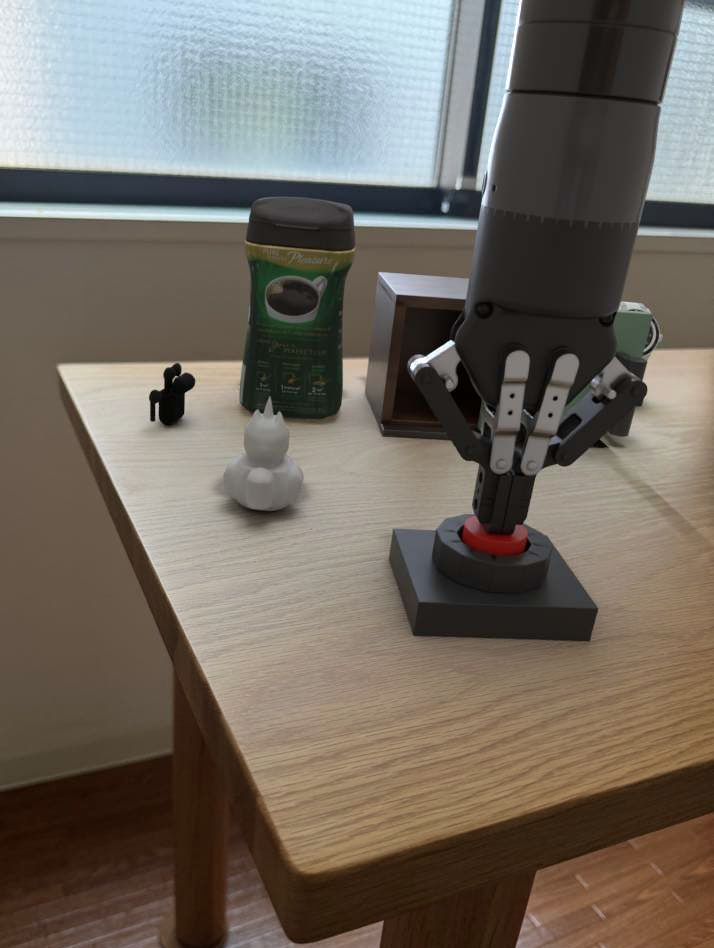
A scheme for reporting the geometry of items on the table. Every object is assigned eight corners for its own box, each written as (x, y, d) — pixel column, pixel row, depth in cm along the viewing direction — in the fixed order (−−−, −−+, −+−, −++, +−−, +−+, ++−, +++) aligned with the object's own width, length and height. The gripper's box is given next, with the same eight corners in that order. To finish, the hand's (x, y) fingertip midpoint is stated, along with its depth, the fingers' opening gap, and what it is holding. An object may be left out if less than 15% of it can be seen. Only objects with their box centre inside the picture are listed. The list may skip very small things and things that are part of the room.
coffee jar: (343, 402, 83) (363, 199, 75) (337, 428, 76) (359, 207, 68) (245, 391, 84) (255, 189, 76) (230, 416, 77) (240, 196, 69)
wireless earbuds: (181, 409, 77) (181, 354, 75) (206, 414, 77) (207, 359, 75) (144, 431, 71) (144, 373, 69) (171, 437, 71) (172, 378, 69)
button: (512, 541, 51) (517, 515, 50) (530, 570, 48) (536, 543, 47) (453, 539, 51) (458, 513, 50) (467, 568, 48) (473, 540, 47)
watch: (587, 421, 84) (614, 309, 79) (570, 397, 91) (593, 293, 86) (644, 427, 84) (674, 314, 79) (622, 402, 91) (649, 298, 86)
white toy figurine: (304, 495, 62) (313, 389, 59) (296, 535, 56) (305, 419, 53) (230, 487, 62) (235, 381, 59) (214, 526, 56) (218, 411, 53)
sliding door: (617, 434, 78) (648, 311, 73) (640, 455, 73) (676, 325, 68) (477, 426, 77) (499, 301, 72) (492, 447, 72) (517, 314, 67)
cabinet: (572, 405, 89) (599, 288, 83) (620, 449, 77) (655, 316, 72) (364, 393, 87) (378, 271, 81) (382, 436, 75) (399, 298, 70)
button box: (540, 565, 55) (552, 509, 54) (589, 642, 47) (606, 579, 46) (388, 558, 54) (396, 501, 53) (413, 636, 46) (423, 572, 45)
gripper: (441, 201, 37) (392, 554, 45) (730, 225, 38) (633, 564, 46) (411, 187, 44) (373, 496, 51) (657, 208, 45) (584, 506, 53)
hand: (496, 527), depth 49 cm, fingers closed
